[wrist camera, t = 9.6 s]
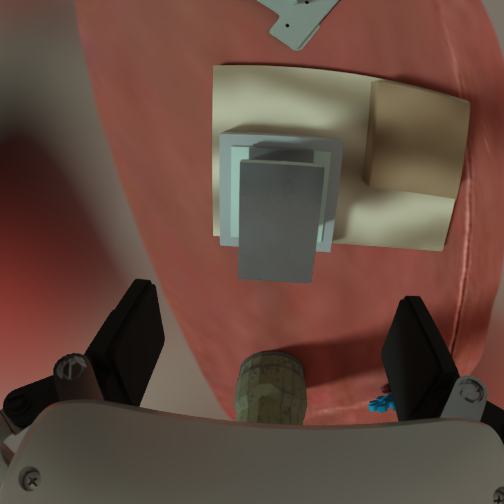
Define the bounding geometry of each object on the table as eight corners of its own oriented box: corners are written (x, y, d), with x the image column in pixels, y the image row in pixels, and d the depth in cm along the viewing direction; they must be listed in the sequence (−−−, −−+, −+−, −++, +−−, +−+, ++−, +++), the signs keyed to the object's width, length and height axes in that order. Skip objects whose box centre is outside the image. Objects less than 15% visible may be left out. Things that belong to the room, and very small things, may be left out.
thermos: (318, 388, 41) (322, 630, 10) (236, 394, 43) (201, 624, 12) (314, 345, 38) (322, 643, 7) (222, 353, 39) (165, 629, 8)
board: (215, 66, 24) (213, 65, 23) (464, 100, 23) (469, 101, 22) (215, 231, 32) (213, 235, 31) (438, 247, 30) (442, 251, 29)
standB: (223, 131, 26) (219, 134, 24) (339, 138, 26) (344, 141, 24) (223, 236, 31) (219, 246, 29) (327, 242, 30) (330, 253, 28)
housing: (249, 145, 24) (239, 162, 18) (312, 149, 24) (324, 167, 18) (247, 236, 28) (238, 279, 22) (304, 240, 28) (311, 283, 22)
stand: (371, 82, 23) (379, 80, 21) (457, 102, 22) (470, 104, 20) (362, 179, 27) (369, 187, 25) (444, 191, 26) (456, 199, 24)
